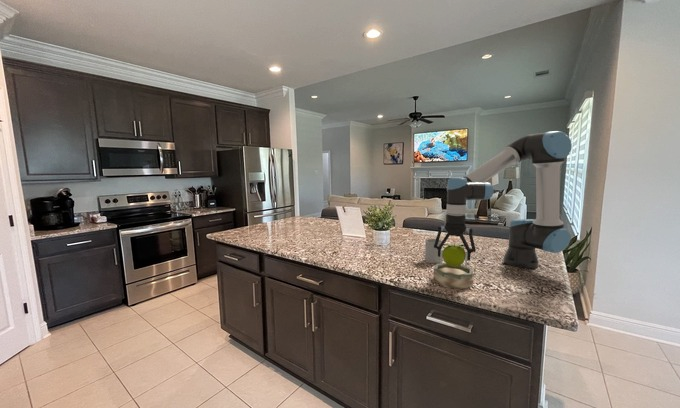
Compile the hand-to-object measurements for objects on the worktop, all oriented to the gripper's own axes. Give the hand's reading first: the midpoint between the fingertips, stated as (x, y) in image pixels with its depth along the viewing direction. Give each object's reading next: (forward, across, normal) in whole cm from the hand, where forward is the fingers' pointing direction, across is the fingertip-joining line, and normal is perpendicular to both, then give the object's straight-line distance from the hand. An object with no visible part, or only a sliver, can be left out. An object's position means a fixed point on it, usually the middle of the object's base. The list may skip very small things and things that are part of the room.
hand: (453, 265), depth 123 cm
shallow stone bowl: (+7, 0, 0) cm, 7 cm away
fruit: (0, 0, 0) cm, 0 cm away
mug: (+7, +11, -27) cm, 30 cm away
